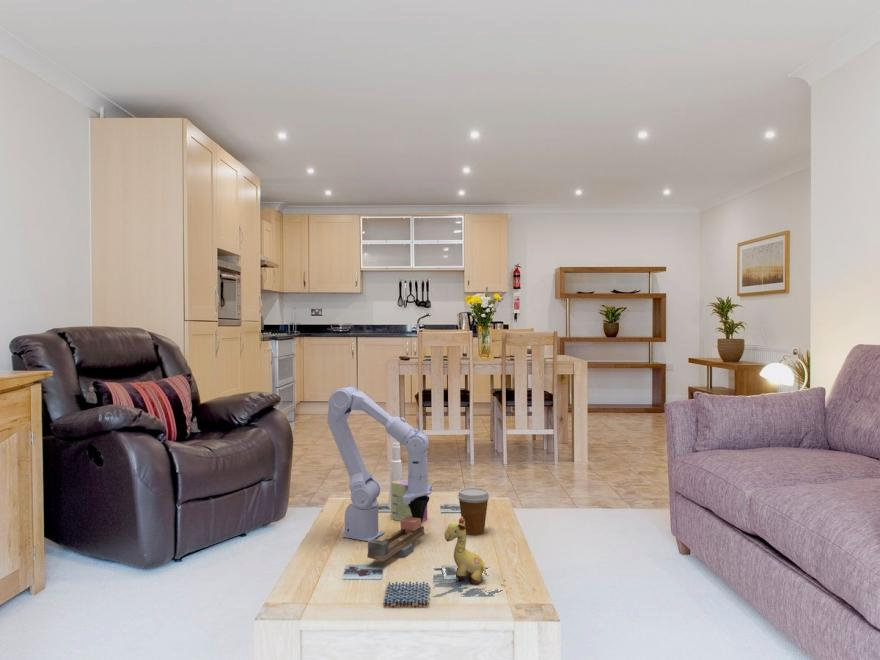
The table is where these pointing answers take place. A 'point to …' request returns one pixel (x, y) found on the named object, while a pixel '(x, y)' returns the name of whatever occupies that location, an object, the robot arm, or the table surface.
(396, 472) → the cosmetic bottle
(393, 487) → the box
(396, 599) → the spiky bristle mat
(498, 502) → the table surface
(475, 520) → the disposable coffee cup
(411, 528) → the block
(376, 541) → the beam
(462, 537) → the stuffed giraffe
